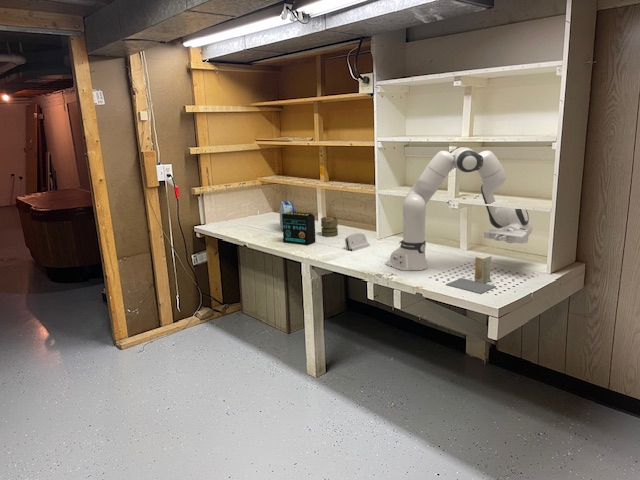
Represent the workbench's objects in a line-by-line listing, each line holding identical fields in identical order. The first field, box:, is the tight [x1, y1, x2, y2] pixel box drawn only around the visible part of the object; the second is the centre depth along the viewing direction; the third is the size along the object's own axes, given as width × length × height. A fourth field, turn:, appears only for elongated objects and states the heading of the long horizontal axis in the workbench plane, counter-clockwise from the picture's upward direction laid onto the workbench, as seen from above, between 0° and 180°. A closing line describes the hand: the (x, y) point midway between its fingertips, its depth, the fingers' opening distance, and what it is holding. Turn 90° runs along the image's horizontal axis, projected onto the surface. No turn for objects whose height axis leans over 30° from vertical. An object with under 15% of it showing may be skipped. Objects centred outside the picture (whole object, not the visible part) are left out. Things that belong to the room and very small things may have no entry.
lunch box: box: [279, 200, 297, 231], centre depth 353 cm, size 26×11×21 cm, turn 10°
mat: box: [445, 277, 497, 295], centre depth 219 cm, size 18×13×1 cm
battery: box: [282, 211, 316, 246], centre depth 311 cm, size 19×10×20 cm, turn 59°
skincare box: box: [474, 254, 492, 283], centre depth 224 cm, size 6×4×12 cm
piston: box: [320, 216, 339, 238], centre depth 331 cm, size 11×12×11 cm
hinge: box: [344, 232, 371, 252], centre depth 295 cm, size 17×5×10 cm, turn 134°
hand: (497, 238), depth 229 cm, fingers closed
